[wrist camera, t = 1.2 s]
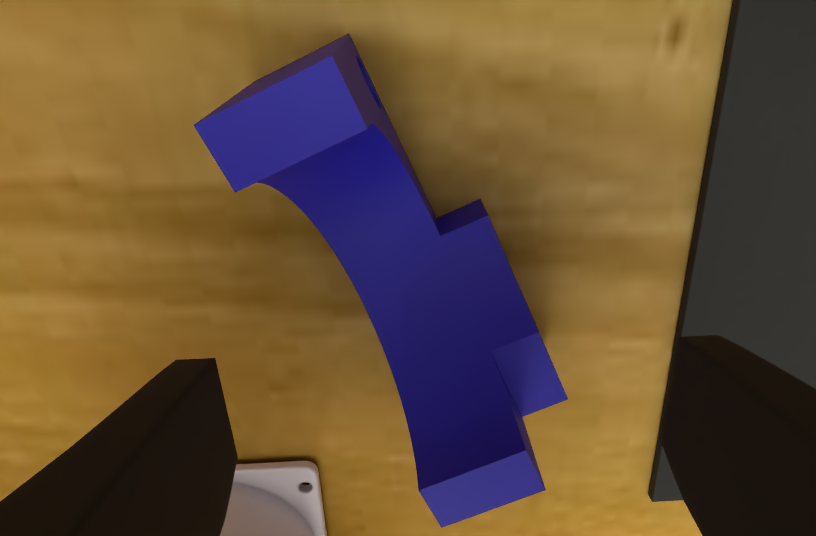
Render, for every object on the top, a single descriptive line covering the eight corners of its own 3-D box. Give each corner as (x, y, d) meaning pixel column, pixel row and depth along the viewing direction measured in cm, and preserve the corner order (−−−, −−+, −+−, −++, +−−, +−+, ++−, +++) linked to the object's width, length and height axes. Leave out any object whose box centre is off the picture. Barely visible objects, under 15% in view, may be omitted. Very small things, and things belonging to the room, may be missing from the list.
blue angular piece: (544, 346, 21) (600, 470, 16) (427, 393, 22) (441, 527, 16) (398, 8, 16) (404, 18, 11) (254, 81, 17) (193, 125, 12)
